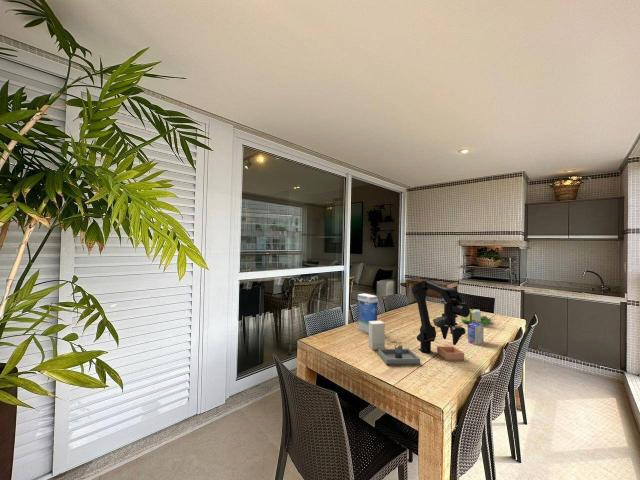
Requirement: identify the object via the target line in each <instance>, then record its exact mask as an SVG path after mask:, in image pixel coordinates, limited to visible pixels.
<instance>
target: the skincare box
mask: <svg viewBox="0 0 640 480" xmlns="http://www.w3.org/2000/svg"><path fill="white" fill-rule="evenodd" d="M385 326H386V323H385V322H383V321H382V320H377V321H369V334H368V347H369V348H370V349H371V350H372V351H375V350H376V351H377V350H378V349H386V347H385V343H386V340H385V335H386V333H385V332H386V330H385V328H386V327H385Z"/></svg>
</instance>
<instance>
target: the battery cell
mask: <svg viewBox="0 0 640 480" xmlns="http://www.w3.org/2000/svg"><path fill="white" fill-rule="evenodd" d="M394 349H395V358H396V359H398V358H402V349H403V346H402V345H400V344H395V345H394Z"/></svg>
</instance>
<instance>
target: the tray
mask: <svg viewBox="0 0 640 480" xmlns="http://www.w3.org/2000/svg"><path fill="white" fill-rule="evenodd" d="M377 354H378V356H379V358H380V359H381V360H382V361H383V363H384V364H385V365H386V366H416V365H418V366H419V365H421V358H420V357H419V356H417V355H416V353H414V351H412V350H411V349H410V348H402V358H398V359H396V358H395V348H385V349H378V351H377Z"/></svg>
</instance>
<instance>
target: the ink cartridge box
mask: <svg viewBox="0 0 640 480" xmlns="http://www.w3.org/2000/svg"><path fill="white" fill-rule="evenodd" d="M473 321H475V320H472V322H473ZM484 334H485V333H484V325H483V324H481V323H477V322H476V321H475V322H473V323H471V324H469V323H467V343H468V344H471V345H474V346H477V345H481V344H484V340H485V339H484V337H485V336H484Z"/></svg>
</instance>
